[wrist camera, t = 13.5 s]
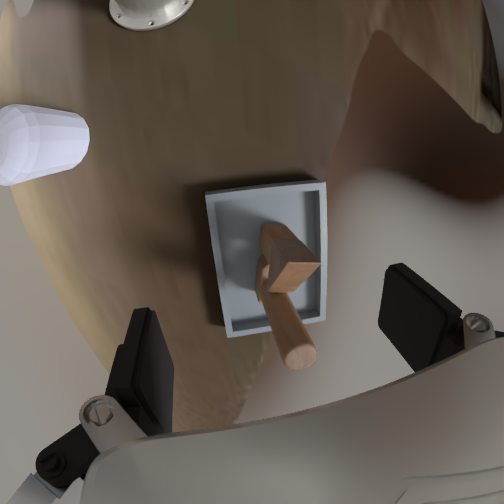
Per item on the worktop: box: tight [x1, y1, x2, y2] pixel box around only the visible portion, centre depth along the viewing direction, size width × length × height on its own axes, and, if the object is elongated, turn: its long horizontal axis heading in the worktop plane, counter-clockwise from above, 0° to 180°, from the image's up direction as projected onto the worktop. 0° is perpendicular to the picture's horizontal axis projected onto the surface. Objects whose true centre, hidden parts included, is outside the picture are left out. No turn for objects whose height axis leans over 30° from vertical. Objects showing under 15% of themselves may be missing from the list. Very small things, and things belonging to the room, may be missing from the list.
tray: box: [205, 180, 327, 338], centre depth 42 cm, size 22×16×3 cm
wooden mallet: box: [255, 223, 321, 370], centre depth 34 cm, size 4×11×18 cm, turn 175°
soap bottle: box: [0, 104, 90, 186], centre depth 22 cm, size 9×9×24 cm
